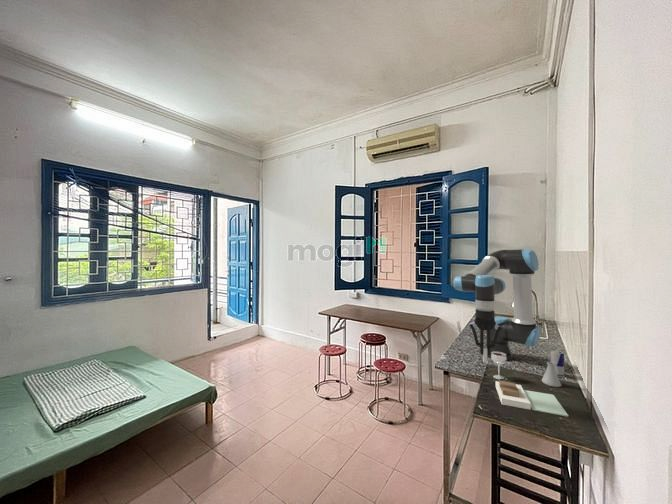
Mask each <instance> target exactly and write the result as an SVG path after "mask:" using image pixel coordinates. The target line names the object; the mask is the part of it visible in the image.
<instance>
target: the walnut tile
mask: <svg viewBox="0 0 672 504" xmlns="http://www.w3.org/2000/svg"><path fill="white" fill-rule="evenodd" d="M498 382H499V386H500V388H501V391H502V394H503V395H508V396H513V397H519V398H520V393H519V391H518V389H517V387H516V385H515V384H516V383H515V382H510V381H505V380H498Z"/></svg>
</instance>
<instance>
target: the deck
mask: <svg viewBox="0 0 672 504" xmlns="http://www.w3.org/2000/svg"><path fill="white" fill-rule="evenodd" d="M515 385H516V387H517V389H518V391H519V393H520V398H519V397H513V396H508V395H503V394H502V391H501V388H500V386H499V380H498V381H497V380H495V388H496V392H497V395H498V398H499V400H500V401H499V402H500V403H501V405H502V406H507V407H514V408H520V409H524V410H532V409H531V403H530V401H529V399H528V398H527V396H526V394H525V392H524V390H525V389H524V388H523V387H522V385H521V384H516V383H515Z"/></svg>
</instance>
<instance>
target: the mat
mask: <svg viewBox="0 0 672 504" xmlns="http://www.w3.org/2000/svg"><path fill="white" fill-rule="evenodd" d="M523 390H524V392H525V394H526V396H527V398H528V399H529V401H530V403H531V410H532V411H535V412H541V413H547V414H551V415H558V416H563V417H568V418H569V414H568V413H567V411H566V409H565V408H564V407H563V406H562V404H561V403H560V402H559V401H558V399H557V398H556V396H555V394H551V393H545V392H540V391H534V390H533V391H532V390H527V389H523Z"/></svg>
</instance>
